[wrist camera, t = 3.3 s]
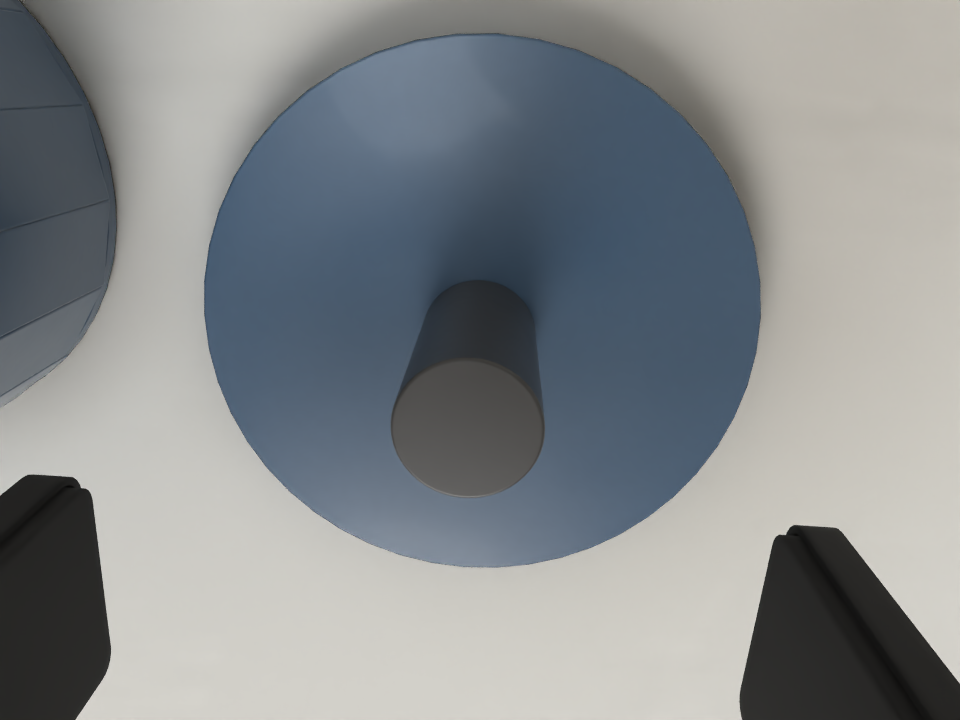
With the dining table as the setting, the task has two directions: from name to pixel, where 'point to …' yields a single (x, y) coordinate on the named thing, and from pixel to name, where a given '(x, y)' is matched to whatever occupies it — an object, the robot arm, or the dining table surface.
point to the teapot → (47, 206)
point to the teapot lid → (482, 300)
